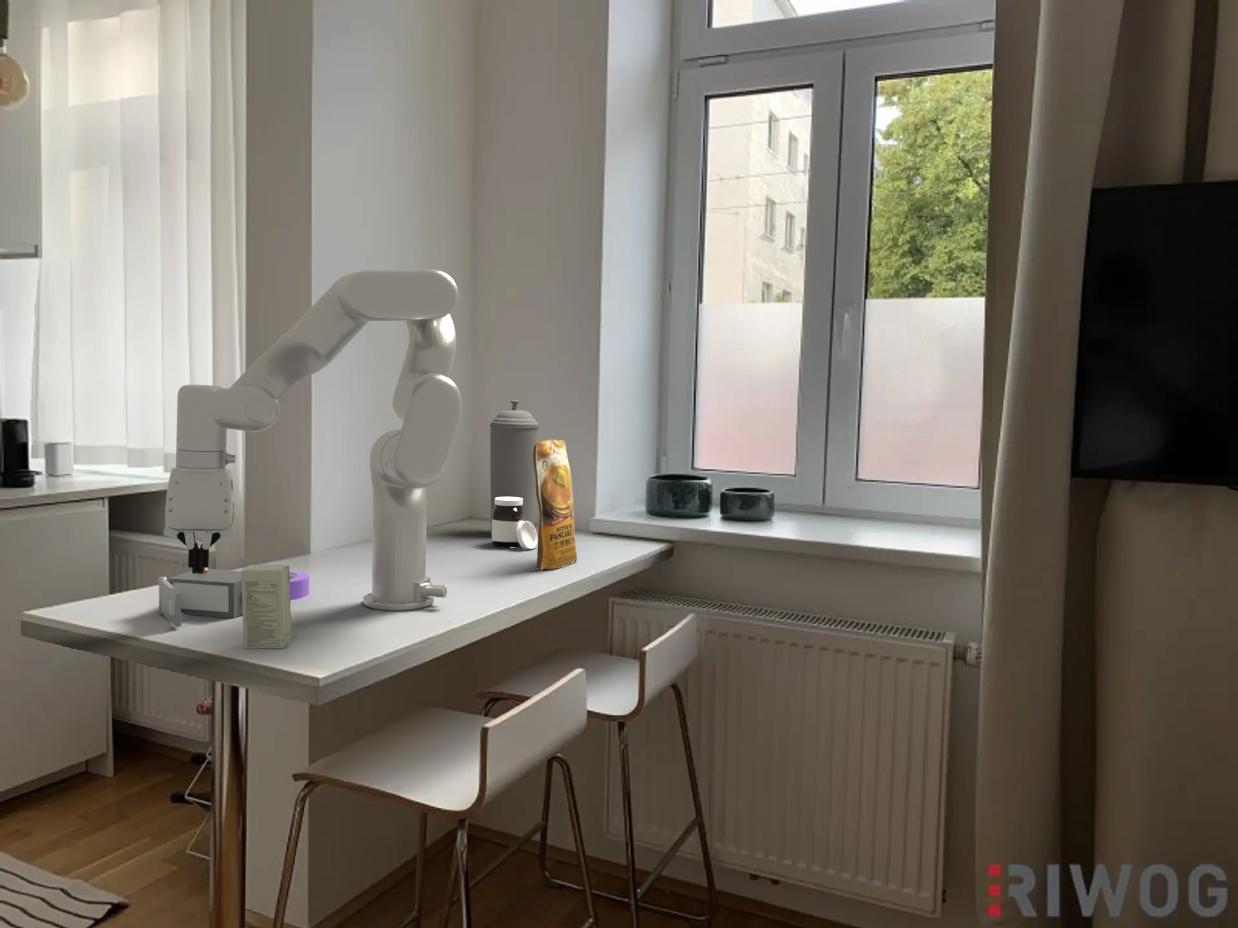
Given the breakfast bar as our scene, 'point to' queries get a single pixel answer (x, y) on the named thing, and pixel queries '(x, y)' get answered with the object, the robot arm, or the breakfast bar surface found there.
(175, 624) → the side door
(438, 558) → the breakfast bar surface
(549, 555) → the pancake mix bag
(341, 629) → the breakfast bar surface
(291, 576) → the masking tape
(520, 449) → the canister
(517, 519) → the spread jar
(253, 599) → the skincare box
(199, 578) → the toy microwave oven
